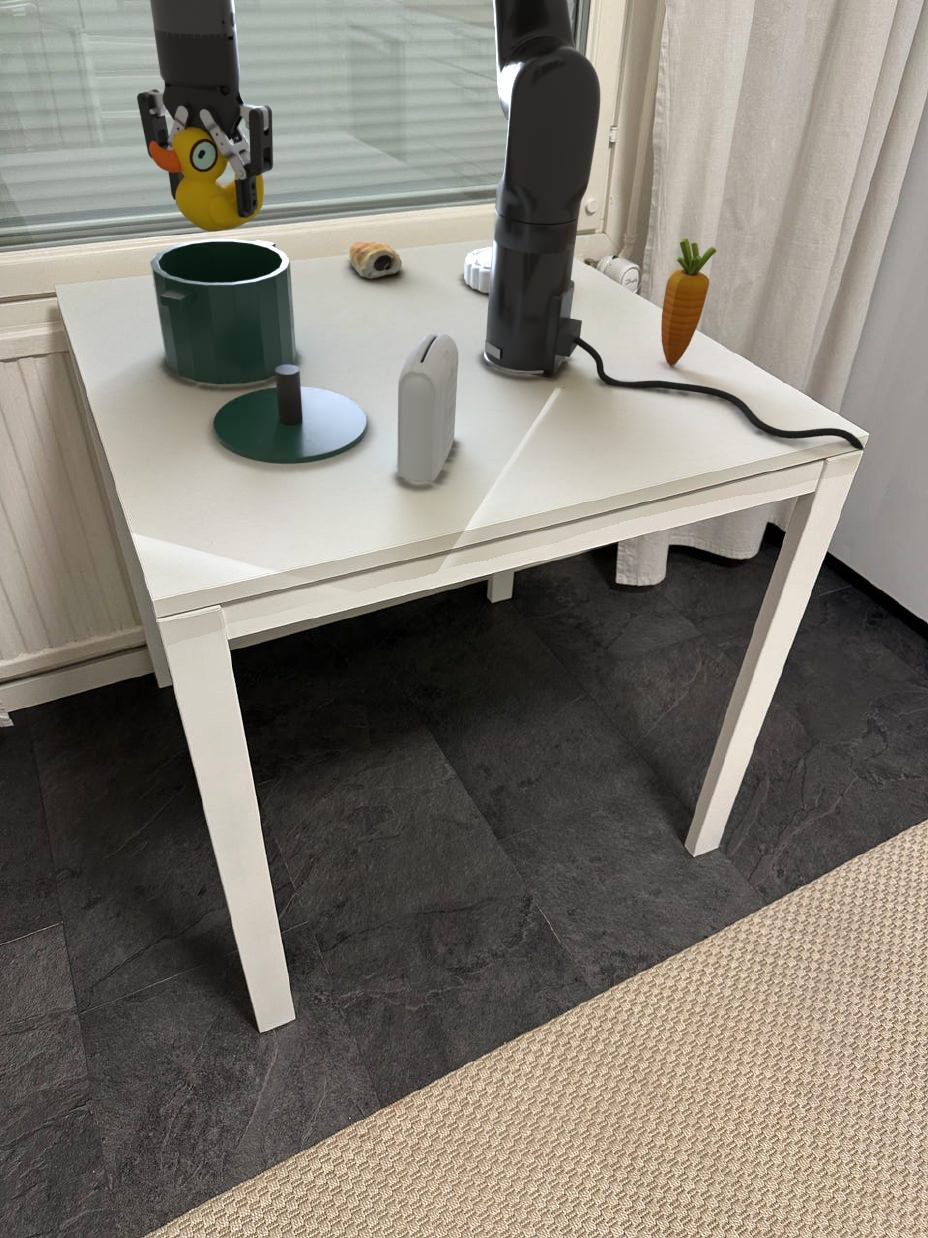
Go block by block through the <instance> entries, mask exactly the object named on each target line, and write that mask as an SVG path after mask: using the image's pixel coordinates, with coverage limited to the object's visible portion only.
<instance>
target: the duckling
mask: <svg viewBox="0 0 928 1238" xmlns="http://www.w3.org/2000/svg"><path fill="white" fill-rule="evenodd" d="M149 151H150V154H151V156H152V158H153V159H152V158H151V159H152V160H153V162H154V163H155V165H156V166H157V167H158V168H159V169H161V170H164V171H165V172H171V173H177V172H182V173H183V175H184V176H185V177H184V178H183V179H182V181H181V182H180V183H179V185H178V187H177V190H176V200H175V204H176V203H177V204H176V207H177V208H178V210H179V212H180V213H181V214H182V215H183V217H185V219H187V220H188V221H189V222H190V223H192V224H193V225H194V226H195V227H197V228H199V229H200V230H202V231H206V232H213V233H214V232H221V231H228V230H232V229H236V228H238V227H241V226H243V225H245V224H246V223H248V222H249V221H251V220H253V219H254V218H255V217H256V216H257V215H259V213H260V211H261V210H262V207H263V204H264V200H265V199H264V198H265V184H264V183H265V181H264V176H263V173H262V174H261V175H259V176H257V177H256V187H257V199H258V206H257V209H256V210H254V214H253V215H251V216H249V217H247V218H243V217H239V215H238V209H237V199H236V189H235V179H238V178H237V176H236V174H235V173H234V177H233V180H232V181H230V182H229V183H227V184H224V185H222V184H220V182H219V181H217V180H218V179H219V178H220V177H221V176H222V175H223V174H224V173H225V171H226V169H227V167H228V165H229V161H228V160H227V159H226V158H224V157H223V156H222V154H221V152H220V150H219V148H218V147H216V145H215V143H214V142H213V141H212V139H211V138H210V136H209V135H208V134H207V133H206V132H205V131H203V130H201V129H199V128H195V127H188V128H186V129H185V130H184V131H181V132H178V133H177V134H176V135H175V137H174V139H173V142H172V150H166V149H162V148H161V147H159V146H158V144H157V143H156V142H155V141H152V142H151V143H150V145H149Z"/></svg>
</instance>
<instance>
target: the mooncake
mask: <svg viewBox="0 0 928 1238" xmlns="http://www.w3.org/2000/svg"><path fill="white" fill-rule="evenodd" d="M491 259H492V246H488V247H482V248H478V249H474V250H473V251H471V252H469V253H467V254H466V257H465V259H464V269H463V270H464V272H463V273H464V274H463V279H464V280H465V284H466V285H467V286H470V288H471V289H473V290H474V291H475V290H476V291H478V292H480V293H482V294H489V287H490V273H491Z"/></svg>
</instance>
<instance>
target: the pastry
mask: <svg viewBox="0 0 928 1238" xmlns="http://www.w3.org/2000/svg"><path fill="white" fill-rule="evenodd" d="M349 258H350V262H351V267H353V268H354V270H355V271H356V273H358V274H359V276H361V277H363V278H367V279H371V280H372V279H376V278H377V279H378V278H381V277H384V276H387V275H389V276H392V275H394V274H396V273H398V272H399V271H400V270H401V269H402V265H403V262H402V259H401V257H400V254H398V253H397V252H396V251H395V250H394V249H393V248H392V247H391V246H390V245H389V244H387V243H383V242H377V241H357V242H355V243H354V244H353V245H352V246H350V248H349Z"/></svg>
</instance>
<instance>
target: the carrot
mask: <svg viewBox="0 0 928 1238" xmlns="http://www.w3.org/2000/svg"><path fill="white" fill-rule="evenodd" d="M679 246H680V250H681V252H682V256H683V257H677V258H676V261H677V262H678V264H679V265H680V266H681V267H682V269H676V270H674V271H672V272H671V274H670V276H669V277H668V279H667V282H666V285H665V290H664V291H665V292H664V297H663V306H662V311H661V328H660V329H661V333H660V334H661V344H662V345H661V346H662V351H663V355H664V358H665V362H666V364H668V366H669V367H674V366H675V365H676V364H677V363H678V362H679V361H680V359H681V358H682V357H683V356H684V354H685V352H686V351H687V349H688V348H689V346H690V344H691V341H692V339H693V338H694V337H693V336H694V335H695V332H696V330H697V328H698V325H699V322H700V320H701V317H702V315H703V314H702V313H703V309H704V306H705V302H706V299H707V294H708V291H709V287H710V278H709V277H708V276H707V275H706V274H704V273H703V272H701V270H702V268H703V267H704V266H705V265H706V264H707V262H708V261H709V260H710V259H711V257H712V256H713V255H714V254H715V253H717V249H716V248H715V247H714V246H711V247H709V248H708V249H707V250H706V251H705V252H704V254H703V255H702V256H701V255H700V250H699V244H698V242H692V243H691V244H690V241H689V238H682V239H681V240H680V241H679Z"/></svg>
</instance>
